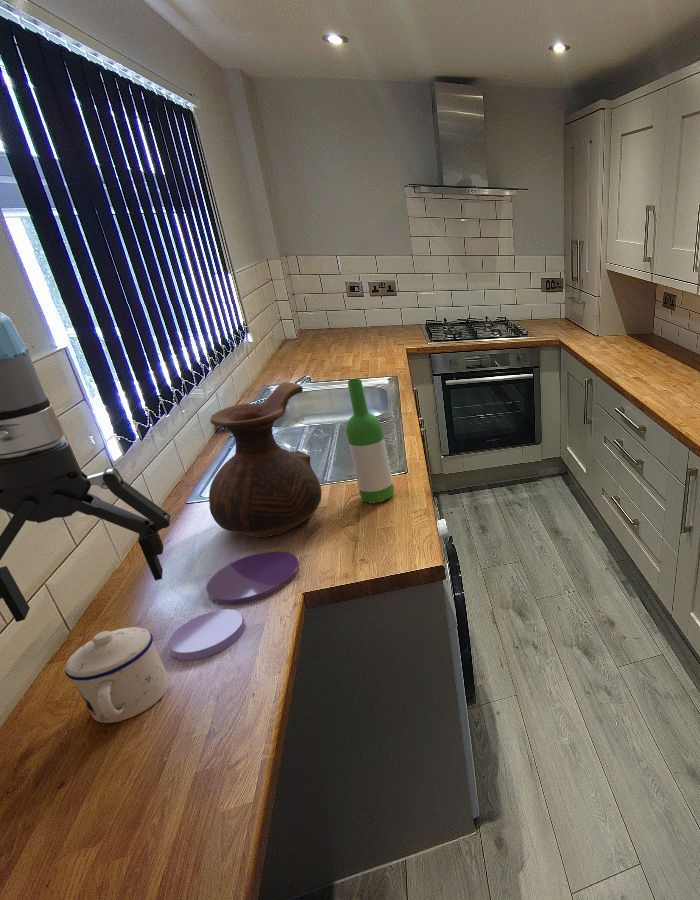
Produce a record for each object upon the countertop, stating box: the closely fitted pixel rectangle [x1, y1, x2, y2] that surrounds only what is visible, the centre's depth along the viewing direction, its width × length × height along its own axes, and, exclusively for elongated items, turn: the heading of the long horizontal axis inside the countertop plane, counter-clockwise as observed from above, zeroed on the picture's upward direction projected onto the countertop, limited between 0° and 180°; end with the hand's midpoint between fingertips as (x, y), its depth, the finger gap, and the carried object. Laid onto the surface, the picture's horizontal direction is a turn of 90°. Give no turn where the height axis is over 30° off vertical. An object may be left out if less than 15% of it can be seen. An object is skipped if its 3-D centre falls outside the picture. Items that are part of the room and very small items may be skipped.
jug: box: [208, 381, 322, 538], centre depth 114 cm, size 22×22×30 cm
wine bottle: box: [345, 378, 395, 504], centre depth 124 cm, size 8×8×30 cm
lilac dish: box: [168, 608, 246, 661], centre depth 86 cm, size 10×10×2 cm
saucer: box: [206, 550, 300, 606], centre depth 100 cm, size 15×15×1 cm
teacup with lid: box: [64, 626, 171, 724], centre depth 72 cm, size 12×9×12 cm
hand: (94, 594), depth 70 cm, fingers open, 13 cm apart
